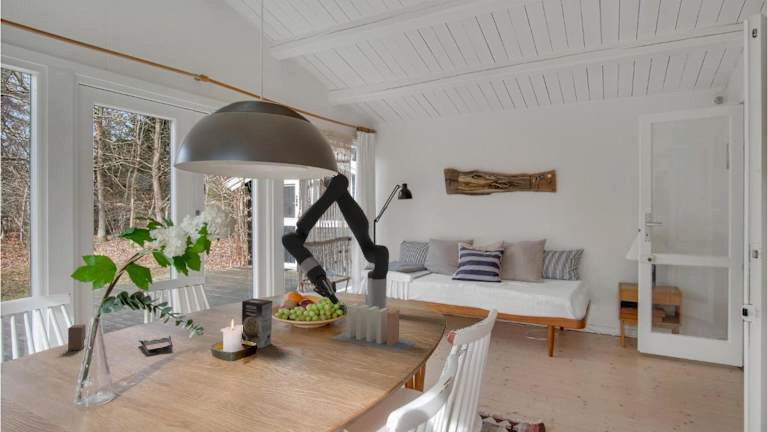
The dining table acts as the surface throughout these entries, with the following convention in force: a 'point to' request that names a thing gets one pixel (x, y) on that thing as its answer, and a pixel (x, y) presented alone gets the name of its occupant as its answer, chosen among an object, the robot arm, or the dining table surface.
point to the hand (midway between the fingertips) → (336, 303)
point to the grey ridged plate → (397, 347)
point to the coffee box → (257, 321)
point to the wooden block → (76, 337)
